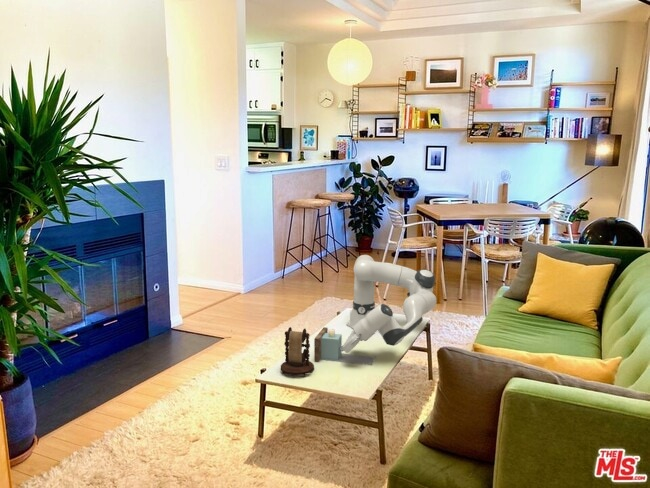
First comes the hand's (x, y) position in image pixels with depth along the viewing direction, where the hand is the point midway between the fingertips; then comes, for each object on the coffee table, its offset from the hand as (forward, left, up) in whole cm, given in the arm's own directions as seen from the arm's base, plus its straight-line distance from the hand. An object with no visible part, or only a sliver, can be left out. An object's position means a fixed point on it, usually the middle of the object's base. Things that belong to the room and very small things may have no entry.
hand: (341, 349), depth 250 cm
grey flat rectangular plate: (0, +3, -5) cm, 6 cm away
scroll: (+18, -16, -5) cm, 24 cm away
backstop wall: (0, -10, -5) cm, 11 cm away
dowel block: (0, -5, -4) cm, 6 cm away
